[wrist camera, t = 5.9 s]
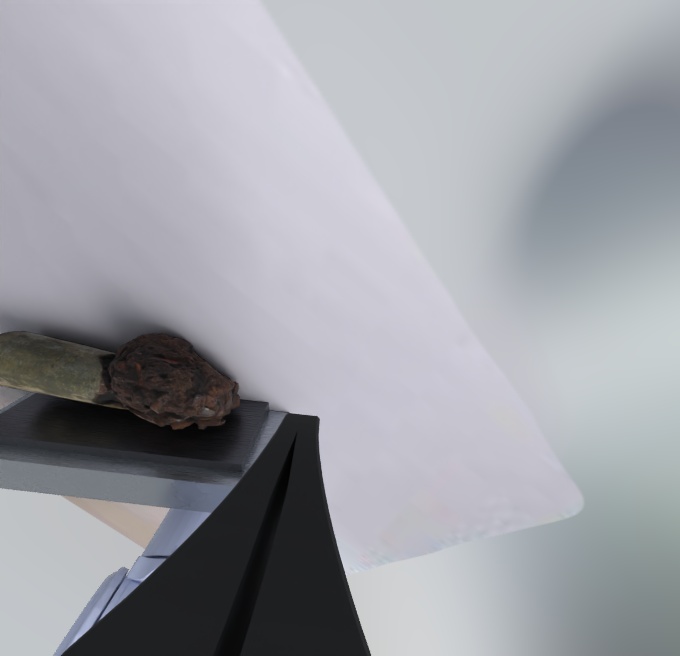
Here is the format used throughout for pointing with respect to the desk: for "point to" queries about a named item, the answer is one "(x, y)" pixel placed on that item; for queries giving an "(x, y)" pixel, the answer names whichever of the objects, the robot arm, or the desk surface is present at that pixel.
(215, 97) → the desk surface
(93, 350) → the corroded crusty cylinder
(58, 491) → the grey metal tray
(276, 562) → the robot arm
